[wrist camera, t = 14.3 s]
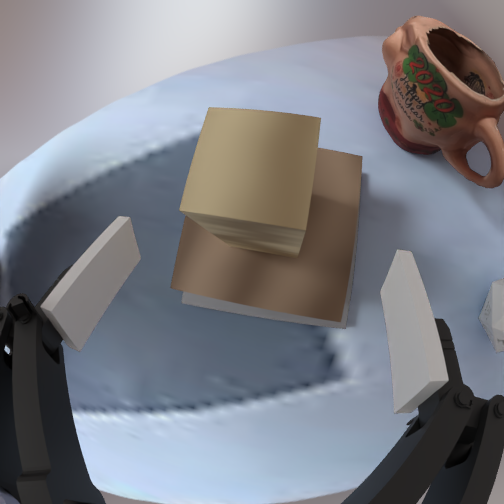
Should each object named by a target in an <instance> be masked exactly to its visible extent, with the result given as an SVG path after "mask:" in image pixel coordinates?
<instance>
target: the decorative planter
mask: <svg viewBox="0 0 504 504" xmlns="http://www.w3.org/2000/svg"><path fill="white" fill-rule="evenodd" d="M382 53H383V58H384V61H385V63H386V65H387V68H388V77H387V79H386V81H385V83H384V84H383V86H382V88H381V91H380V94H379V99H378V109H379V114H380V117H381V120H382V122H383V125H384V127H385V129H386V130H387V132H388V133H389V135H390V137H391V138H392V139H393V141H394V142H395V143H396V144H397V145H398V146H399V147H401V148H402V149H404V150H406V151H408V152H411V153H417V154H425V155H430V154H434V153H436V152H438V151H440V150H442V154H443V157H444V158H445V159H446V160H447V161H448V162H449V163H450V164H451V165H452V166H453V167H454V168H455V169H456V170H457V171H458V172H459V173H460V174H462V175H463V176H464V177H465V178H466V179H468V180H470V181H472V182H474V183H476V184H477V185H479V186H483V187H485V188H495V187H497V186H500V185H501V183H502V181H503V179H504V142H503V139H502V137H501V134H500V132H499V130H498V128H497V124H498V122H499V118H500V115H501V114H502V113H503V111H504V81H503V79H502V77H501V75H500V73H499V71H498V69H497V68H496V65H495V62H494V61H493V60H492V59H491V58H490V57H489V56H488V55H487V54H486V53H485V52H484V51H483V50H481V49H480V48H479V47H478V46H477V45H476V44H474V43H473V42H472V41H471V40H470V39H468V38H467V37H465V36H463V35H461V34H460V33H458V32H456V31H455V30H453V29H451V28H450V27H449V26H447V25H445V24H444V23H442V22H440V21H438V20H436V19H432V18H427V17H422V16H414V17H412V18H410V19H409V20H407V22H406V23H405V24H404V25H403V26H400V27H398V28H397V29H396V31H395V33H394V34H392V35H391V36H390V37H388V38H387V39H386V40H385V41H384V42H383V45H382ZM480 141H482V142H483V143H484V144H485V145H486V147H487V149H488V151H489V153H490V157H491V169H490V171H489V173H488V174H487V176H482V175H480V174H478V173H476V172H475V171H473V170H472V169H470V168H469V165H468V162H467V159H466V154H467V152H468V151H469V150H470V149H471V148H472V147H473V146H474V145H476V144H477V143H479V142H480Z"/></svg>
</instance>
